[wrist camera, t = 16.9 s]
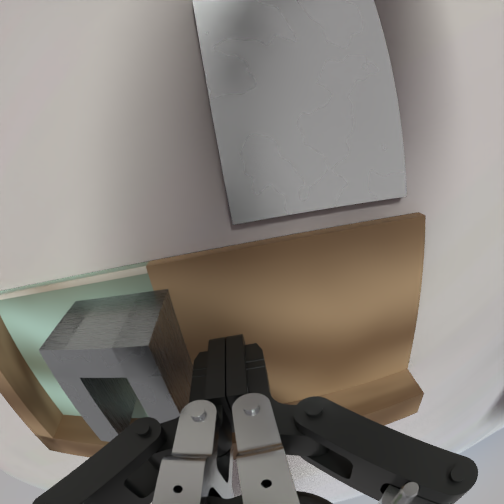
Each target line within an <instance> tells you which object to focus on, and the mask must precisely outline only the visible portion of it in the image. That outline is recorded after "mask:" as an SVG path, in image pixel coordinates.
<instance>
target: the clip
mask: <svg viewBox="0 0 504 504" xmlns="http://www.w3.org/2000/svg"><path fill="white" fill-rule="evenodd" d="M39 352H40V354H41V355H42V357H43V359H44V361H45V362H46V364H47V366H48V367H49V369H50V371H51V372H52V374H53V375H54V377H55V379H56V380H57V382H58V383H59V385H60V386H61V388H62V389H63V391H64V392H65V394H66V395H67V397H68V398H69V400H70V401H71V402H72V404H73V405H74V407H75V408H76V409H77V411H78V412H79V413H80V415H81V416H82V417H83V419H84V420H85V421H86V423H87V424H88V425H89V426H90V428H91V429H92V430H93V431H94V433H95V434H96V435H97V436H98V437H99V439H100V440H101V441H107V442H110V441H111V440H112V439H114V438H115V437H116V436H117V435H118V434H120V433H121V432H122V431H123V430H124V429H126V428H127V427H128V426H129V425H130V421H131V417H132V414H133V410H134V406H135V402H136V399H137V397H138V399H139V401H140V403H141V404H142V406H143V408H144V409H145V411H146V413H147V414H148V416H149V417H151V418H154V419H156V420H157V421H158V422H159V423H163V422H166V421H169V420H172V419H175V418H177V417H179V416H180V413H181V411H182V409H183V408H184V407H185V406H186V405H187V404H188V403H189V398H190V389H191V380H192V372H193V365H192V362H191V359H190V356H189V353H188V350H187V347H186V344H185V341H184V338H183V335H182V332H181V329H180V326H179V323H178V320H177V317H176V314H175V310H174V307H173V304H172V300H171V297H170V294H169V290H168V289H163V290H156V291H149V292H142V293H134V294H127V295H120V296H112V297H104V298H97V299H89V300H81V301H75V303H74V304H73V305H72V306H71V308H70V309H69V310H68V312H67V313H66V314H65V315H64V317H63V318H62V319H61V320H60V322H59V323H58V324H57V326H56V327H55V328H54V330H53V331H52V332H51V334H50V335H49V336H48V338H47V339H46V341H45V342H44V343H43V345H42V346H41V347H40V349H39Z"/></svg>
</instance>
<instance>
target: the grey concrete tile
mask: <svg viewBox="0 0 504 504" xmlns="http://www.w3.org/2000/svg"><path fill="white" fill-rule="evenodd" d="M192 1H193V7H194V13H195V19H196V25H197V31H198V37H199V43H200V49H201V55H202V60H203V66H204V72H205V78H206V83H207V89H208V95H209V100H210V106H211V111H212V117H213V123H214V128H215V134H216V139H217V144H218V150H219V155H220V161H221V166H222V171H223V177H224V182H225V187H226V192H227V198H228V203H229V208H230V213H231V218H232V224H233V225H235V224H241V223H246V222H252V221H257V220H263V219H268V218H274V217H280V216H285V215H291V214H297V213H303V212H309V211H315V210H321V209H327V208H333V207H340V206H346V205H352V204H359V203H366V202H372V201H379V200H386V199H393V198H400V197H407V189H406V170H405V156H404V145H403V135H402V127H401V119H400V112H399V105H398V99H397V93H396V87H395V81H394V76H393V71H392V66H391V62H390V57H389V53H388V49H387V44H386V40H385V37H384V33H383V29H382V25H381V22H380V19H379V15H378V12H377V9H376V5H375V2H374V0H192Z"/></svg>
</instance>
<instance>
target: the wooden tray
mask: <svg viewBox="0 0 504 504" xmlns="http://www.w3.org/2000/svg"><path fill="white" fill-rule="evenodd" d="M424 244H425V215H423V214H421V213H419V212H418V213H412V214H406V215H401V216H395V217H389V218H383V219H377V220H371V221H366V222H360V223H354V224H349V225H343V226H337V227H332V228H326V229H320V230H315V231H309V232H303V233H298V234H292V235H287V236H281V237H276V238H270V239H265V240H259V241H254V242H249V243H243V244H238V245H232V246H227V247H222V248H216V249H211V250H206V251H200V252H195V253H190V254H184V255H179V256H174V257H169V258H164V259H158V260H153V261H148V262H143V263H138V264H133V265H127V266H122V267H117V268H112V269H107V270H102V271H97V272H92V273H87V274H82V275H77V276H72V277H67V278H62V279H57V280H52V281H47V282H42V283H38V284H33V285H28V286H23V287H18V288H13V289H9V290H4V291H0V393H1V394H2V395H3V397H4V398H5V399H6V401H7V402H8V403H9V404H10V406H11V407H12V408H13V410H14V411H15V412H16V413H17V414H18V416H19V417H20V418H21V419H22V420H23V422H24V423H25V424H26V425H27V426H28V427H29V428H30V430H31V431H32V432H33V433H34V434H35V435H36V436H37V437H38V438H39V439H40V440H41V441H42V442H43V444H44V445H45V446H46V447H47V448H48V449H49V450H52V451H57V452H62V453H67V454H73V455H79V456H85V457H91V456H93V455H94V454H95V453H96V452H98V451H99V450H100V449H101V448H103V447H104V446H105V445H106V444H108V443H109V442H107V441H101V440H100V439H99V437H98V436H97V435H96V434H95V433H94V431H93V430H92V429H91V428H90V426H89V425H88V424H87V423H86V421H85V420H84V419H83V417H82V416H81V415H80V413H79V412H78V411H77V409H76V408H75V407H74V405H73V404H72V402H71V401H70V400H69V398H68V397H67V395H66V394H65V392H64V391H63V389H62V388H61V386H60V385H59V383H58V382H57V380H56V379H55V377H54V375H53V374H52V372H51V371H50V369H49V367H48V366H47V364H46V362H45V361H44V359H43V357H42V355H41V354H40V352H39V349H40V347H41V346H42V345H43V343H44V342H45V341H46V339H47V338H48V336H49V335H50V334H51V332H52V331H53V330H54V328H55V327H56V326H57V324H58V323H59V322H60V320H61V319H62V318H63V317H64V315H65V314H66V313H67V312H68V310H69V309H70V308H71V306H72V305H73V304H74V303H75V301H81V300H89V299H97V298H104V297H112V296H120V295H127V294H134V293H142V292H149V291H156V290H163V289H168V290H169V294H170V297H171V300H172V304H173V307H174V310H175V314H176V317H177V320H178V323H179V326H180V329H181V332H182V335H183V338H184V341H185V344H186V347H187V350H188V353H189V356H190V359H191V362H192V365H193V364H194V360H195V358H196V357H197V355H198V354H199V352H204V351H208V344H209V339H215V338H221V337H227V336H233V335H239V334H243V336H244V340H245V344H246V345H248V344H253V343H257V344H258V345H259V346H260V347H261V349H262V350H263V355H264V359H265V364H266V369H267V373H268V379H269V385H270V391H271V397H272V398H273V399H274V400H275V401H277V402H279V403H282V404H288V405H297V404H298V403H299V402H300V401H301V400H303V399H305V398H308V397H313V396H319V397H324V398H326V399H328V400H330V401H332V402H334V403H336V404H338V405H340V406H342V407H345V408H347V409H349V410H351V411H353V412H355V413H357V414H359V415H361V416H364V417H366V418H368V419H370V420H372V421H375V422H377V423H379V424H381V425H386V424H389V423H392V422H394V421H397V420H400V419H402V418H405V417H407V416H410V415H412V414H414V413H417V411H418V408H419V406H420V403H421V400H422V397H423V394H424V393H423V391H422V390H421V388H420V387H419V385H418V384H417V382H416V381H415V379H414V378H413V376H412V375H411V373H410V372H409V370H408V369H407V368H408V363H409V359H410V354H411V349H412V344H413V339H414V333H415V327H416V321H417V314H418V307H419V300H420V292H421V283H422V272H423V260H424ZM143 417H149V416H148V414H147V413H146V411H145V409H144V408H143V406H142V404H141V403H140V401H139V399H138V397H137V399H136V402H135V406H134V410H133V414H132V417H131V421H130V424H132V423H133V422H134V421H135V420H137V419H140V418H143ZM232 444H233V447H234V451H233V460H235V459H236V455H237V454H238V449H237V443H236V436H235V432H233V433H232Z"/></svg>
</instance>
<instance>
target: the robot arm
mask: <svg viewBox="0 0 504 504" xmlns="http://www.w3.org/2000/svg"><path fill="white" fill-rule="evenodd" d="M233 432H235V436H236V443H237V449H238V454H237V455H236V461H237V468H238V474H239V481H240V487H241V493H242V495H240V496H237V497H234V493H233V490H232V471H233V451H234V447H233V444H232V433H233ZM285 454H286V455H298V456H301V457H302V458H303V459H304V460H305V461H307V462H309V463H310V464H312V465H314V466H315V467H317V468H318V469H320V470H322V471H324V472H325V473H327V474H329V475H330V476H332V477H334V478H336V479H337V480H339V481H341V482H343V483H345V484H346V485H348V486H350V487H352V488H354V489H356V490H358V491H360V492H362V493H364V494H366V495H368V496H370V497H372V498H374V499H376V500H378V501H379V502H378V504H454V503H455V502H456V501H457V500H458V499H460V498H461V497H462V496H463V495H464V494H465V493H466V492H467V491H469V490H470V489H471V488H472V486H473V485H474V484H475V482H476V480H477V476H478V469H477V466H476V464H475V463H474V461H473V460H471V459H470V458H467V457H465V456H462V455H459V454H456V453H453V452H450V451H447V450H444V449H441V448H439V447H436V446H433V445H430V444H428V443H425V442H423V441H420V440H417V439H415V438H412V437H410V436H407V435H405V434H402V433H400V432H398V431H395V430H393V429H391V428H388V427H386V426H384V425H381V424H379V423H377V422H375V421H372V420H370V419H368V418H366V417H364V416H361V415H359V414H357V413H355V412H353V411H351V410H349V409H347V408H345V407H342V406H340V405H338V404H336V403H334V402H332V401H330V400H328V399H326V398H324V397H319V396H313V397H308V398H305V399H303V400H301V401H300V402H299V403H298V404H297V405H288V404H282V403H279V402H277V401H275V400H274V399H273V398H272V397H271V391H270V385H269V379H268V373H267V369H266V364H265V359H264V355H263V350H262V349H261V347H260V346H259V345H258V344H257V343H253V344H248V345H246V344H245V340H244V336H243V334H239V335H233V336H227V337H221V338H215V339H209V344H208V351H204V352H199V354H198V355H197V357H196V358H195V360H194V364H193V372H192V380H191V389H190V398H189V403H188V404H187V405H186V406H185V407H184V408H183V409H182V411H181V413H180V416H179V417H177V418H175V419H172V420H169V421H166V422H163V423H159V422H158V421H157V420H156V419H154V418H151V417H143V418H140V419H137V420H135V421H134V422H133V423H132V424H130V425H129V426H128V427H127V428H126V429H124V430H123V431H122V432H121V433H120V434H118V435H117V436H116V437H115V438H114V439H112V440H111V441H110V442H109V443H108V444H106V445H105V446H104V447H103V448H101V449H100V450H99V451H98V452H96V453H95V454H94V455H93V456H91V457H90V458H89V459H88V460H86V461H85V462H84V463H83V464H81V465H80V466H79V467H78V468H76V469H75V470H74V471H72V472H71V473H70V474H69V475H67V476H66V477H65V478H63V479H62V480H61V481H59V482H58V483H57V484H55V485H54V486H53V487H51V488H50V489H49V490H47V491H46V492H45V493H43V494H42V495H41V496H39V497H38V498H36V499H35V501H34V502H33V504H150V503H151V502H152V501H153V502H152V504H332V503H331V502H329V501H328V500H326V499H324V498H322V497H320V496H317V495H314V494H311V493H306V492H299V491H296V489H295V485H294V482H293V479H292V475H291V472H290V468H289V465H288V461H287V458H286V455H285Z"/></svg>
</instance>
